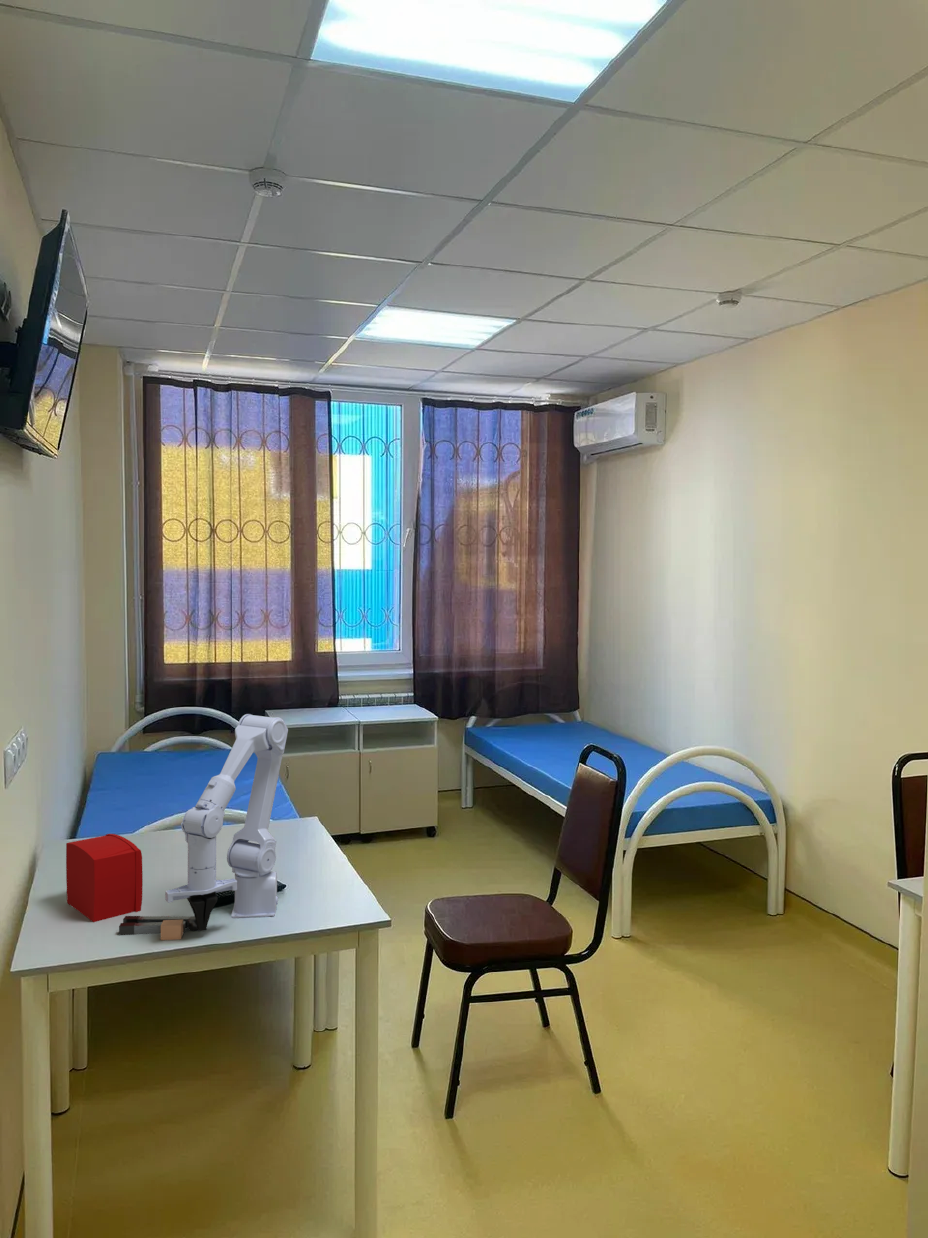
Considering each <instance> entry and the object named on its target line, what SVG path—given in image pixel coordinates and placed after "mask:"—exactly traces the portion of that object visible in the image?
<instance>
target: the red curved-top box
mask: <svg viewBox="0 0 928 1238" xmlns="http://www.w3.org/2000/svg"><path fill="white" fill-rule="evenodd" d="M65 846H66V848H65V851H66V852H65V853H66V854H65V871H66V872H65V874H66V877H65V878H66V904H67V905H69V906H70V907H72V908H73V909H75V910H76V911H77V912H79V913H81V914H82V915H83V916H84V917H86V918H87V919H88V920H90V921H91V922H93V923H97V922H100V921H103V920H104V921H105V920H109V919H112V918H115V917H119V916H123V915H127V914H131V913H134V912H135V913H139V912H141V911H142V905H143V881H144V880H143V876H144V875H143V855H142V850H141V849H140V848H139V847H138V846H137V845H136V844H135V843H133V842H132V841H131V840H129V839H128V838H125V837H124V836H121V835H118V834H116V833H107V834H105V835H100V836H96V837H90V838H86V839H80V840H75V841H69V842H66V845H65Z"/></svg>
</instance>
